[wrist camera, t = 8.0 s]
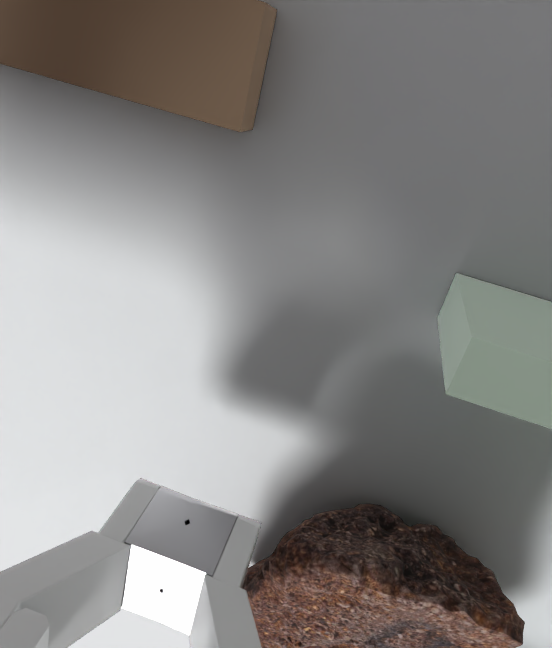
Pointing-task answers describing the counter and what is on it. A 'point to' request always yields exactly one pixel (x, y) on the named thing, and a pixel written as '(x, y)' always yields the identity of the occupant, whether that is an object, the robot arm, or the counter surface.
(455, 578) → the stone
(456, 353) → the green u-shaped bracket
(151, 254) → the counter surface
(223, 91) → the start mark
